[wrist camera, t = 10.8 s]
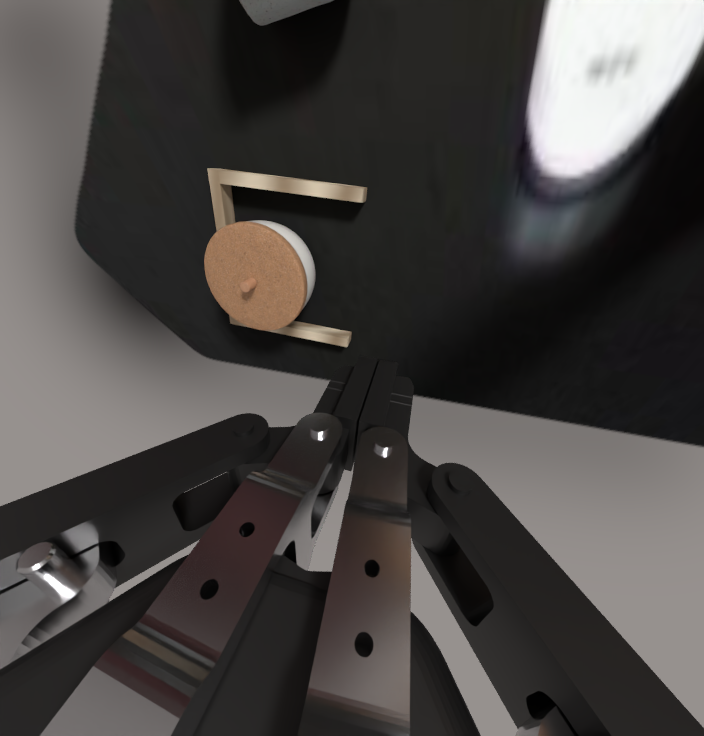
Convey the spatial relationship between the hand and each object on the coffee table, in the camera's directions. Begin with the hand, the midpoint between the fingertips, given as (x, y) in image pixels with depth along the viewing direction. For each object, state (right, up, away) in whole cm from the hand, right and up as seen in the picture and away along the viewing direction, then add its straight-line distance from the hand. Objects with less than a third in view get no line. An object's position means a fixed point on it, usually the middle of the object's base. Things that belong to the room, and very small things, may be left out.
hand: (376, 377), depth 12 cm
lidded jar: (-9, +13, +24) cm, 29 cm away
